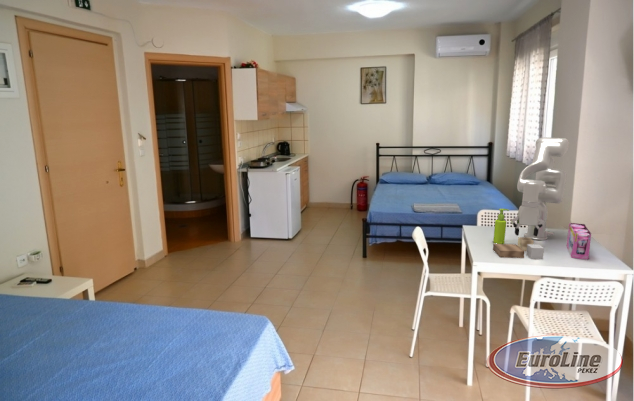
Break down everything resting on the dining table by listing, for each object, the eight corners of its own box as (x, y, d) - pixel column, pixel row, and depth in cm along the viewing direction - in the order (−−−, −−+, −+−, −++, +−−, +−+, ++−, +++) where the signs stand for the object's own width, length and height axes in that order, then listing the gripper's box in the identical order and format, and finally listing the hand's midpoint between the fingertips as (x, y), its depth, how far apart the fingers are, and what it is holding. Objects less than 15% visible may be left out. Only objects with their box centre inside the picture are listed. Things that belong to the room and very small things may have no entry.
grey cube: (537, 255, 231) (539, 244, 230) (542, 259, 225) (544, 248, 224) (526, 255, 232) (527, 244, 231) (530, 259, 226) (531, 247, 225)
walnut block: (515, 251, 239) (516, 244, 238) (523, 258, 227) (524, 251, 226) (492, 250, 240) (493, 243, 239) (499, 258, 228) (500, 250, 227)
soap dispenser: (507, 244, 250) (511, 210, 246) (495, 244, 250) (498, 210, 246) (504, 241, 255) (507, 207, 251) (491, 241, 256) (494, 207, 252)
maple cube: (528, 247, 244) (529, 237, 243) (532, 251, 238) (533, 240, 237) (517, 247, 244) (518, 237, 243) (521, 251, 239) (522, 240, 237)
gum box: (589, 260, 224) (592, 235, 221) (571, 258, 227) (574, 233, 224) (582, 247, 245) (585, 223, 242) (565, 245, 248) (568, 222, 245)
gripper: (543, 203, 239) (539, 234, 242) (510, 202, 240) (507, 233, 243) (549, 206, 232) (545, 237, 235) (515, 205, 233) (512, 236, 236)
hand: (526, 235), depth 239 cm, fingers open, 9 cm apart
